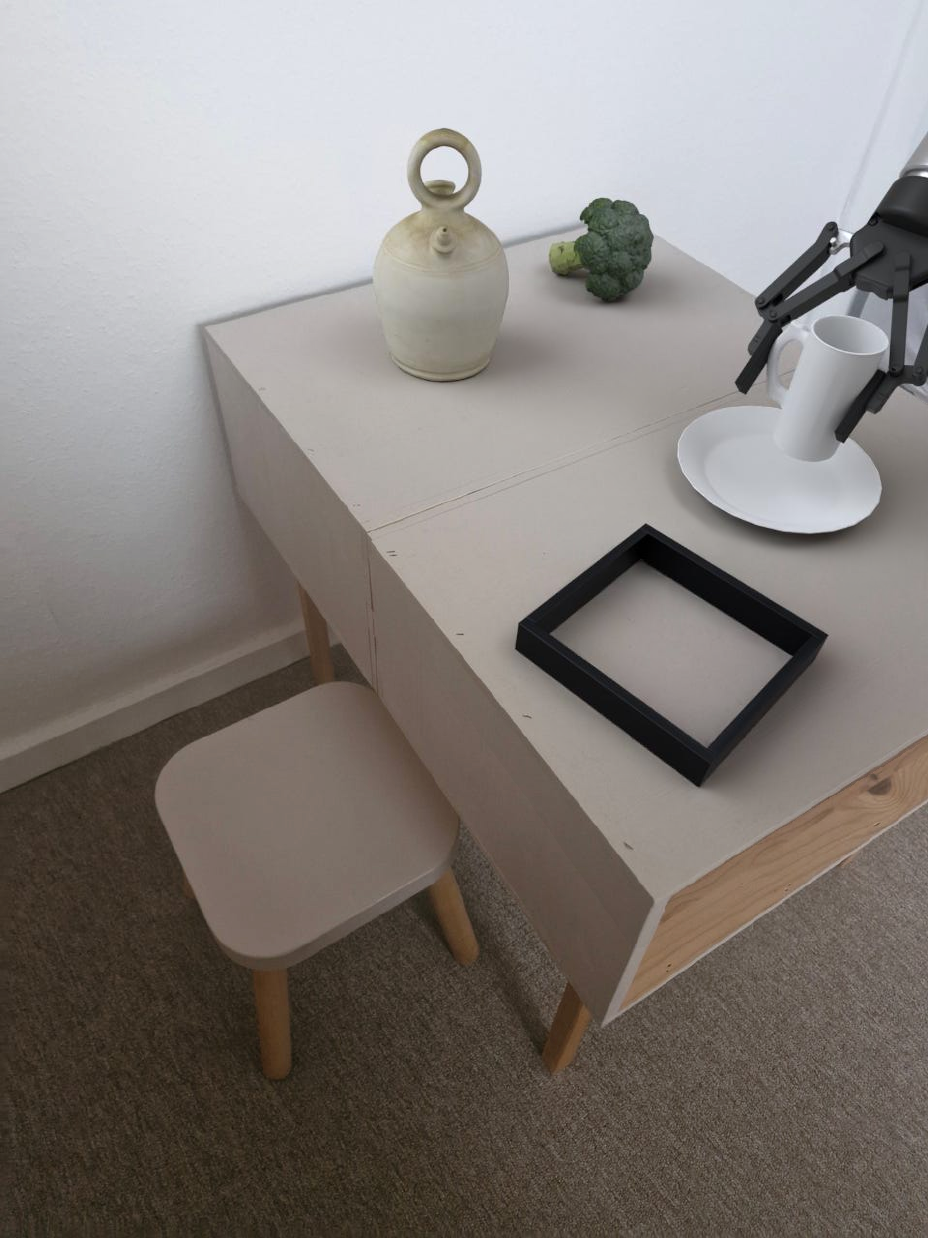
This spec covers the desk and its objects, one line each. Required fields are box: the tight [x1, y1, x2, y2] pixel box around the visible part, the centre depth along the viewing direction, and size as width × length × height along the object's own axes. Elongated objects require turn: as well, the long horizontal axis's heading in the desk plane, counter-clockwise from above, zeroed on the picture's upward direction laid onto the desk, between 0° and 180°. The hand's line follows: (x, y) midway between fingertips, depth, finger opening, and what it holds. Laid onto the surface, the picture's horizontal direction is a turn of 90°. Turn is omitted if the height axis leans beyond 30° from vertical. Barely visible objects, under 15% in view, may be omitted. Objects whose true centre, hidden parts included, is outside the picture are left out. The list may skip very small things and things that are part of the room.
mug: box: [765, 314, 890, 462], centre depth 81 cm, size 10×7×12 cm, turn 41°
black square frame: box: [514, 522, 829, 788], centre depth 72 cm, size 19×18×4 cm
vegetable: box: [548, 197, 655, 302], centre depth 113 cm, size 12×13×15 cm
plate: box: [676, 405, 883, 535], centre depth 89 cm, size 21×21×2 cm
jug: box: [372, 127, 510, 382], centre depth 94 cm, size 15×16×25 cm
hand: (788, 412), depth 81 cm, fingers closed on mug, 10 cm apart
